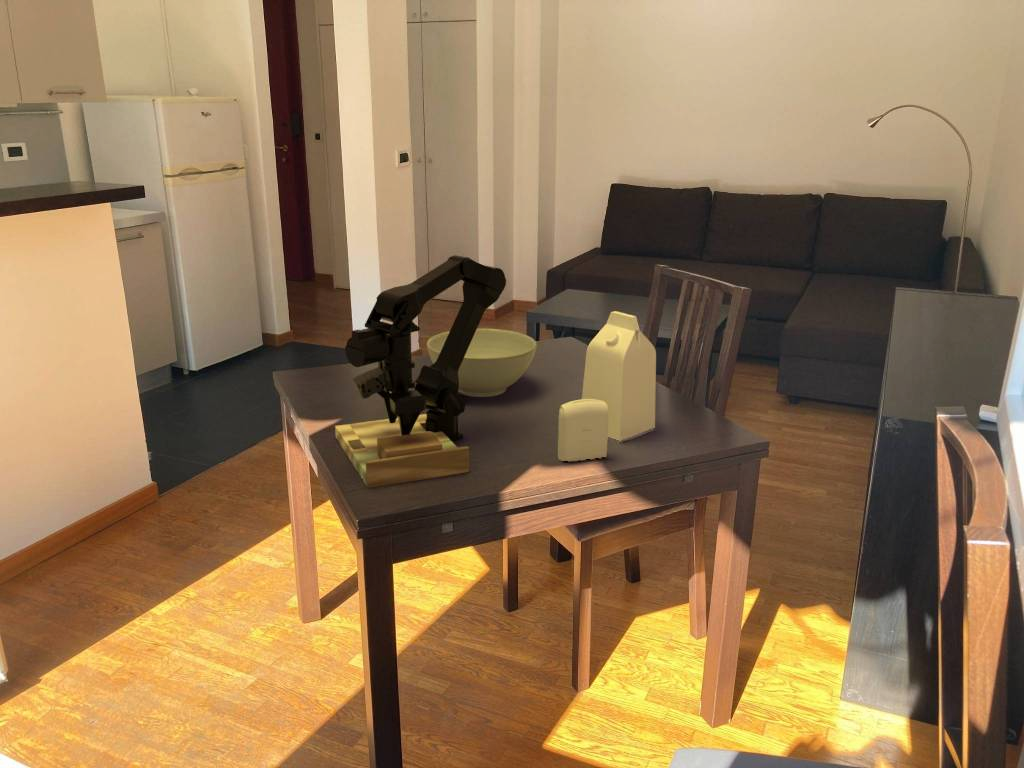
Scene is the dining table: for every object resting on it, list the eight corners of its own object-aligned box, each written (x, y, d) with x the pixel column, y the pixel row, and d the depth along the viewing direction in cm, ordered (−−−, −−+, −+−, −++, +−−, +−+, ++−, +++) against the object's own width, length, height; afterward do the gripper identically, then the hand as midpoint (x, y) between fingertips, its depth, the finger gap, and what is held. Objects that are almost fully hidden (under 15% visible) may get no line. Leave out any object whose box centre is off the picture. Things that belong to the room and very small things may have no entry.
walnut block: (377, 455, 167) (377, 438, 166) (432, 447, 171) (431, 431, 170) (386, 469, 161) (385, 451, 160) (442, 461, 165) (442, 444, 164)
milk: (654, 430, 189) (663, 315, 181) (619, 443, 182) (626, 324, 173) (614, 415, 197) (620, 305, 189) (578, 427, 190) (584, 312, 182)
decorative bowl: (535, 373, 226) (536, 329, 222) (535, 409, 201) (537, 359, 197) (433, 371, 227) (432, 327, 223) (421, 406, 201) (420, 356, 197)
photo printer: (560, 464, 171) (563, 405, 167) (554, 455, 175) (556, 398, 171) (609, 459, 173) (613, 401, 169) (602, 451, 177) (605, 394, 173)
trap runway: (335, 436, 182) (334, 414, 181) (425, 424, 190) (425, 403, 188) (367, 488, 159) (367, 463, 157) (469, 471, 167) (469, 447, 165)
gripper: (344, 347, 173) (348, 419, 178) (368, 374, 157) (371, 453, 162) (398, 342, 177) (400, 413, 182) (426, 368, 161) (427, 445, 166)
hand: (398, 430), depth 173 cm, fingers open, 9 cm apart
